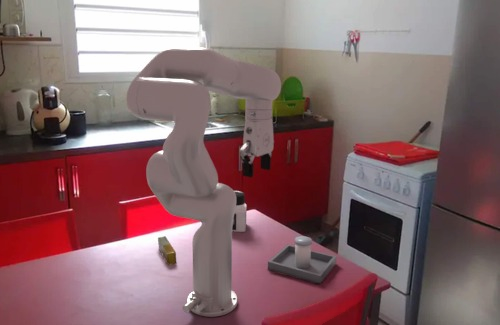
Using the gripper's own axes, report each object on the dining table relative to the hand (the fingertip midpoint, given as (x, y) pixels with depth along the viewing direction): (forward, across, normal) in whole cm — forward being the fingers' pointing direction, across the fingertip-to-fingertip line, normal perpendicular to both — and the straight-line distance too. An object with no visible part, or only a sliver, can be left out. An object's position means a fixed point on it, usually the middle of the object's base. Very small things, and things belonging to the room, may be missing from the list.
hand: (256, 172), depth 132 cm
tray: (+27, +2, -15) cm, 31 cm away
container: (+27, +15, +18) cm, 35 cm away
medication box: (+27, -15, +22) cm, 38 cm away
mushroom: (+26, +2, -15) cm, 30 cm away
